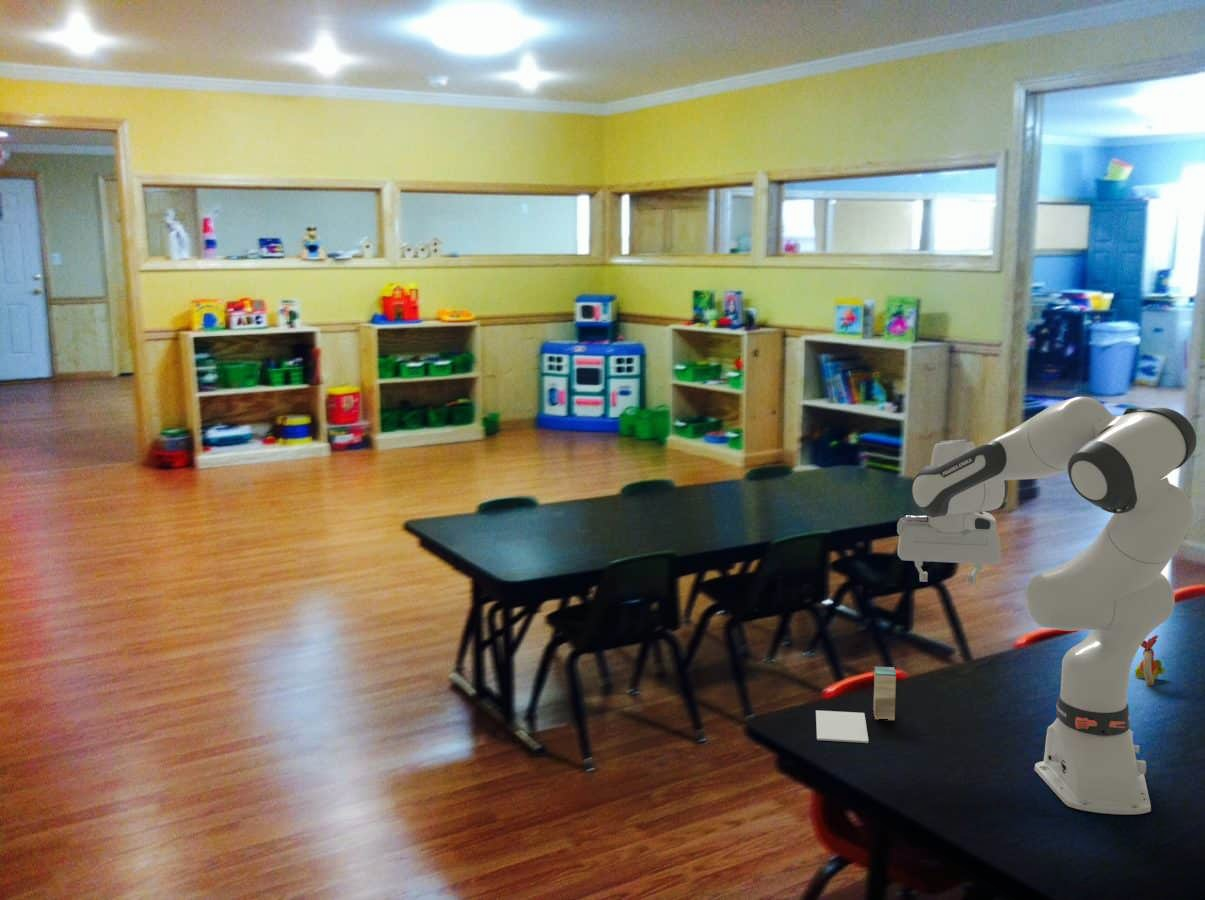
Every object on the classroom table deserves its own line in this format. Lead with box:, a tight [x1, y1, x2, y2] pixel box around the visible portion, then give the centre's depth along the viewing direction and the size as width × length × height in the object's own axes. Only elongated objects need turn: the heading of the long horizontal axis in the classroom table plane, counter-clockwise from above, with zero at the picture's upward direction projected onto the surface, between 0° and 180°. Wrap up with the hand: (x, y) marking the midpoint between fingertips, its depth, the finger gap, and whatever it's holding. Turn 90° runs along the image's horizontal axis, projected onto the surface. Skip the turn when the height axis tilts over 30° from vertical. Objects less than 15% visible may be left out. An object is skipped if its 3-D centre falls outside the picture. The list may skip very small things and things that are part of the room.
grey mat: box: [815, 710, 869, 744], centre depth 223 cm, size 14×10×1 cm
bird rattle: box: [1134, 634, 1166, 687], centre depth 244 cm, size 6×11×9 cm
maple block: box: [873, 666, 897, 721], centre depth 228 cm, size 4×4×10 cm
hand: (947, 582), depth 225 cm, fingers open, 8 cm apart
